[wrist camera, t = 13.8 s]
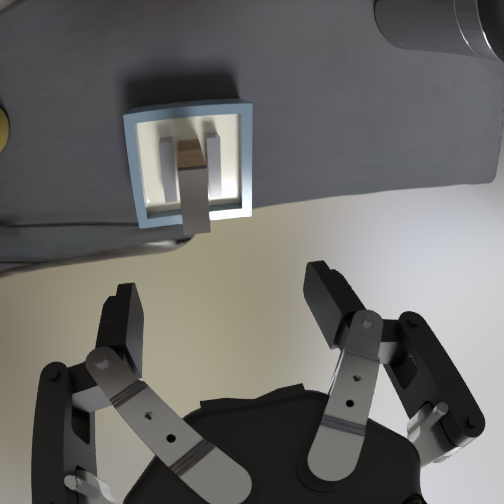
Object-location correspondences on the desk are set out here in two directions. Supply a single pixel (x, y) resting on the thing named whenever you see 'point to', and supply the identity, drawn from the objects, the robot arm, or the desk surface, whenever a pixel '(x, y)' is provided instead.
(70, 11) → the desk surface
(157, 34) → the desk surface
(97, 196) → the desk surface
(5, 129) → the bark log cylinder
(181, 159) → the wooden plank
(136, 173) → the blue open box
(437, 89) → the desk surface
